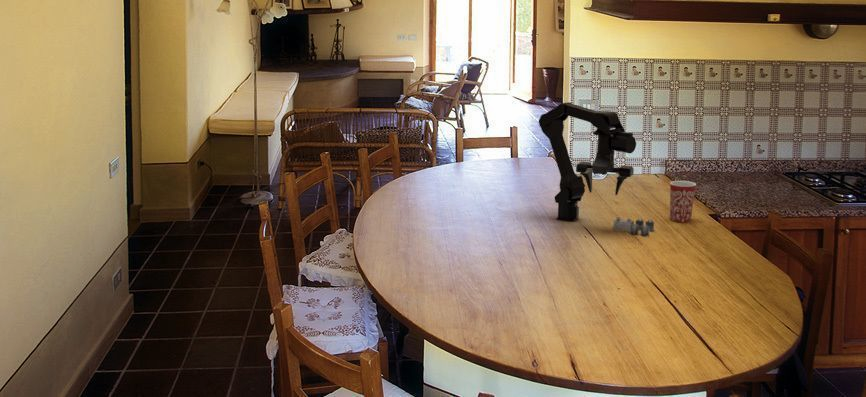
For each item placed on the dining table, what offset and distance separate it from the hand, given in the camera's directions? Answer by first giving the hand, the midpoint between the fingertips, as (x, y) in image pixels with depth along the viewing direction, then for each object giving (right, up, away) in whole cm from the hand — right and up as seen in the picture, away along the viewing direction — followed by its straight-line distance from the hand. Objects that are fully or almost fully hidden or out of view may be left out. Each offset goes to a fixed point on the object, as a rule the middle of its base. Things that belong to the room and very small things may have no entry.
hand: (603, 193), depth 302 cm
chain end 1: (+11, -13, -3) cm, 17 cm away
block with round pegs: (+7, -13, -1) cm, 14 cm away
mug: (+30, -9, +14) cm, 34 cm away
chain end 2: (+14, -13, -5) cm, 20 cm away
